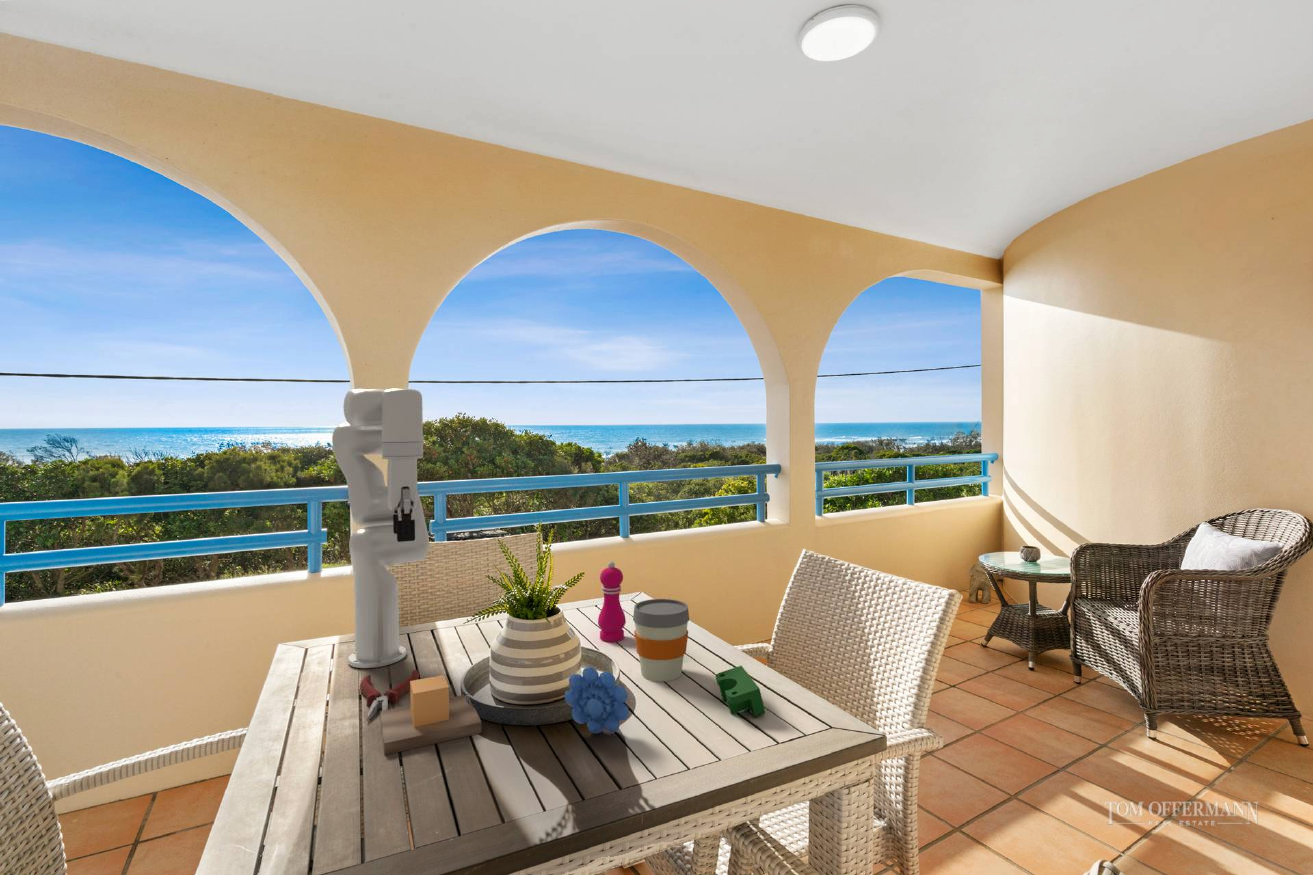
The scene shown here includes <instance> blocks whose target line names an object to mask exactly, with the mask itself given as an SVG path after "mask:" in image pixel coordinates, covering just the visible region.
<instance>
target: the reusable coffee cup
mask: <svg viewBox="0 0 1313 875" xmlns="http://www.w3.org/2000/svg"><path fill="white" fill-rule="evenodd" d="M632 617H633V618H632V620H633V623H634V626H635V629H634V632H633V634H634V641H635V649H636V653H637V654H638V657H639V666H640V672H641V676H642V677H643V678H644V679H646V680H648V681H652V682H660V683H661V682H662V683H663V682H671V681H675V680H677V679H679V678H680V677H681V676H682V673H683V663H684V658H685V657H684V655H685V654H686V652H687V646H688V638H689V637H688V636H689V630H688V623H689V621H690V613H689V605H688V604H687V603H686V602H683V601H681V600H677V599H672V598H652V599H647V600H642V601H639V602H637V603H635V604H634V607H633V616H632Z"/></svg>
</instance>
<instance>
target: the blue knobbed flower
mask: <svg viewBox="0 0 1313 875" xmlns="http://www.w3.org/2000/svg"><path fill="white" fill-rule="evenodd" d="M581 674H582V675H581ZM581 674H579V673H574V674H572V675H569V678H568V686H569V687H570V689H568V690H566V691H565V693H564V701H565V702H566V704H567V705H568V706H569V707H571V708H572V710H571V716H572V719H573V720H574V721H575V723H577V724H579V725H580V724H581V725H583V724H585V723H586V726H587V729H588V730H589V732H590V733H593V734H594V735H595V734H600V733H602V732H603V729H605V730H606V731H607V732H609V733H616V732H617V731H618V730H619V728H620V721H625V720H627V719H628V718H629V715H630V711H629V707H628V706H627V704H625V702H626V701H627V699H628V691H627V690H626V688H624V686H621V685H618V684H617V685H616V682H617V681H616V676H614V674H613V673H612V672H610V671H606V670H605V671H602V672H600V674H599V671H598V670H597V669H596V668H594V667H593V666H587V667H585V668H583V670H582V672H581Z"/></svg>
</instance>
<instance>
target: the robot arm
mask: <svg viewBox="0 0 1313 875" xmlns="http://www.w3.org/2000/svg"><path fill="white" fill-rule="evenodd" d="M342 407H343V415H344V417H345V420H346V422H345V423H341V424H339V425H338V426H336V427H335V428H334V430H333V432H332V435H331V436H332V438H331V440H332V441H331V442H332V450H333V454H334V458H335V460H336V463H337V464H338V466H339V469H340V470H341V472H342V474H343V475H344V478H345V481H346V484H347V493H348V499H349V500H348V501H349V505H350V512H351V516H352V520H353V522H354V523H355V524H356V525H357V526H359V527H361V528H360V529H358V530H356V531H354V532H353V533H352V534H351V536H350V538H349V542H348V543H349V544H348V545H349V546H348V548H349V554H350V560H351V565H352V573H353V586H354V587H353V589H354V590H353V591H354V594H353V595H354V596H353V597H354V599H353V600H354V602H353V604H354V647H355V648H354V652H352V653H351V654H350V655H349V656H348V657H347V663H348V665H349V666H351V667H353V668H358V669H374V668H381V667H386V666H388V665H392V664H395V663H397V662H399V661H401V660H403V659H404V658H405V657H406V656H407V648H405V647H404V646H402V645H400V628H399V626H400V625H399V624H400V619H399V616H400V615H399V613H400V612H399V583H398V580H397V578H396V577H395V576H394V574H393V573H391V572H390V571H389V570H388V569H387V567H389V566H393V565H400V564H407V563H413V562H414V563H415V562H419V561H422V560H424V559H425V558H427V556H428V554H429V551H430V539H429V534H428V529H427V523H426V518H425V515H424V514H425V513H424V509H423V505H422V504H423V503H422V500H421V497H420V494H419V492H418V459H423V458H424V432H423V431H424V428H423V427H424V426H423V418H424V417H423V410H424V409H423V395H422V393H421V391H420V390H417V389H412V388H388V389H383V388H371V389H370V388H369V389H367V388H356V389H350V390H348V391H347V392H346V394H345V397H344V400H343V406H342ZM366 455H381V457H382V458H381V459H382V460H387V471H386V472H387V474H386V477H387V478H386V481H387V482H386V483H387V485H386V483H385V477H384V473H383V470H381V469H380V467H379V466H377V465H376V464H375V462H373V461H372V460H370V459H369V458H367V457H366Z"/></svg>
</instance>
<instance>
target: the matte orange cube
mask: <svg viewBox="0 0 1313 875" xmlns="http://www.w3.org/2000/svg"><path fill="white" fill-rule="evenodd" d="M449 688H450V686H449V684H448V681H447V680H446V677H445V675H444V674H441V675H437V676H431V677H425V678H420V679H419V678H418V680H414V681H410V690H409V692H410V693H409V695H410V698H409V700H410V704H409V706H410V707H411V717H412V721H413V726H414V727H417V726H422V725H427V724H431V723H436V722H441V721H445V720H449V698H450V689H449Z"/></svg>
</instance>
